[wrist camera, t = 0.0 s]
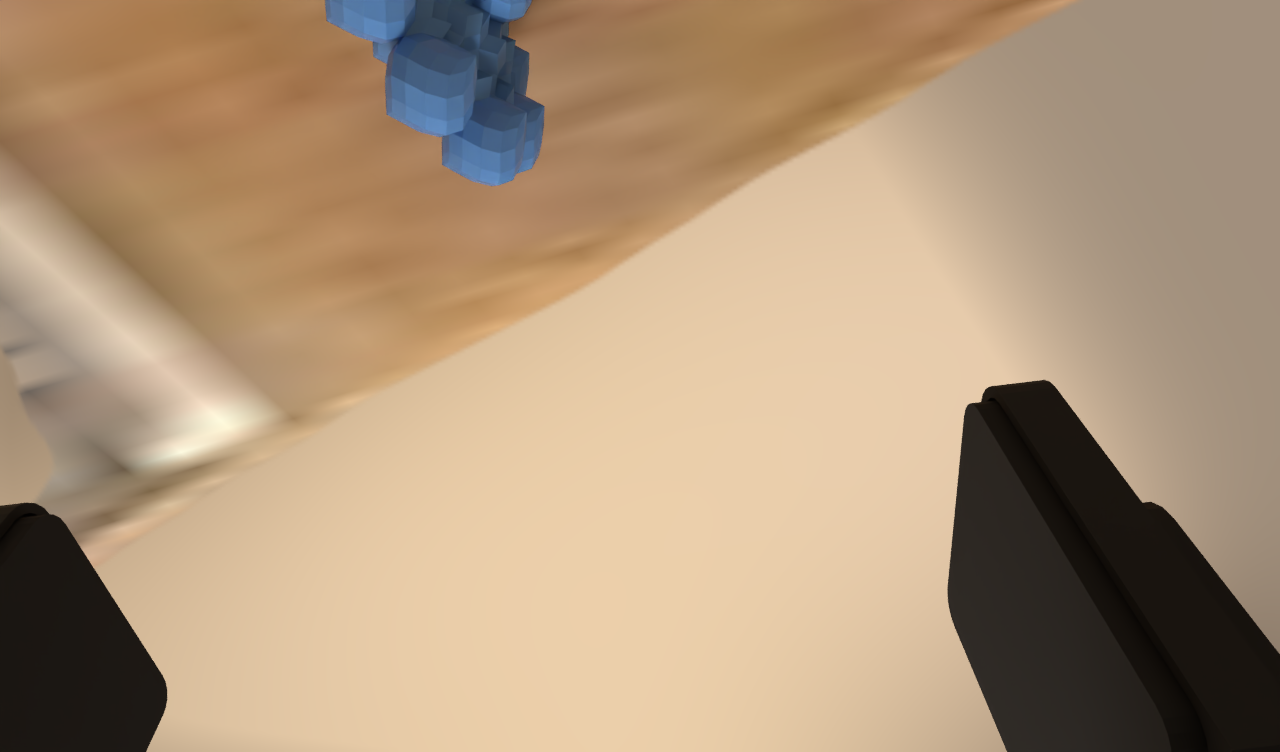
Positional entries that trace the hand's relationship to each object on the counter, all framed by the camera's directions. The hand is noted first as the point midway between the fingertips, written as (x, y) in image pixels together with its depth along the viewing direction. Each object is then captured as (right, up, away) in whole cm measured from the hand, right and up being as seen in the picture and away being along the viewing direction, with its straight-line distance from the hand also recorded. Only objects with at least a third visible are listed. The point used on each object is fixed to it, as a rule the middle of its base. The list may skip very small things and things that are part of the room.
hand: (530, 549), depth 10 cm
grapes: (-5, +18, +26) cm, 32 cm away
